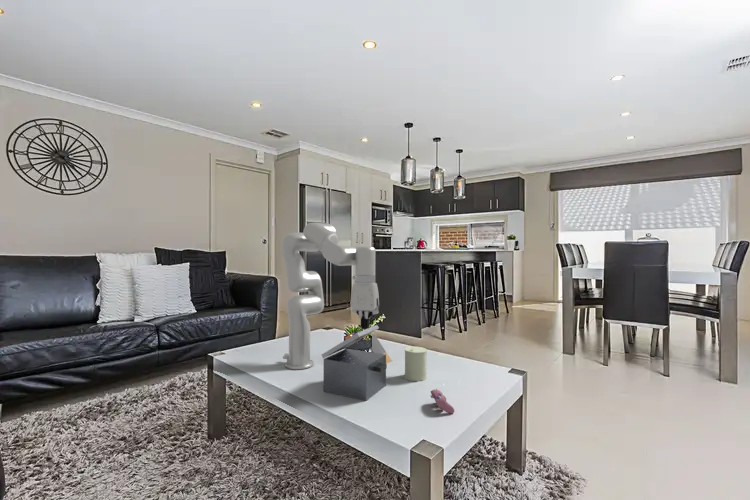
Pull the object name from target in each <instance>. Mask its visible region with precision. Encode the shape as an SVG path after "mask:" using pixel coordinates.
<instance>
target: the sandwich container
mask: <svg viewBox="0 0 750 500" xmlns="http://www.w3.org/2000/svg"><path fill="white" fill-rule="evenodd" d="M372 353H379V354H386V364H387V365H388V364H390V363H392V362H393V360H392V359H391V357H390V355H389V354H388V353H387V351H386V350H385V348H384V347H383V345H382V344H381V342H380V340H379V339H378V337H377V336H376V334H375V333H374V331H373V332H372Z"/></svg>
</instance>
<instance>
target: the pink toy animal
mask: <svg viewBox="0 0 750 500" xmlns="http://www.w3.org/2000/svg"><path fill="white" fill-rule="evenodd" d="M430 393H431V395H430V398H431V399H434V402H435V403H436V405H437V406H438V407H437V408H438V409H439V410H440V411H444V412H446V413H448V414H451V415H452V414H454V413H455V408H454V407H453V405H451V404H450V403H449V402H447V397H446V396H445V395H444V394H443V392H442V391H441V390H440V389H437V388H435V389H432V390H430Z"/></svg>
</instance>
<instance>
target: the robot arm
mask: <svg viewBox="0 0 750 500" xmlns="http://www.w3.org/2000/svg"><path fill="white" fill-rule="evenodd" d="M317 251H320V252H321V254H322V257H323V258H324V259H325V260H327V261H328V262H329V263H331V264H333V265H334V266H339V267H341V266H343V267H345V266H355V267H354V268H355V270H354V272H355V273H354V275H353V276H352V280H354V282H353V283H352V287H351V293H350V308H351V312H352V313H355V314H357V315H358V318H359V319H360V327H361V329H364V330H365V329H368V328H369V326H370V324H371V322H370V319H371V317H372V316H373V315H377V314H379V313H380V311H379V308H380V299H379V298H380V296H379V288H378V283H377V282H376V248H375V247H373V246H357V245H356V246H355V245H339V237H338V235H337V230H336V227H334V226H333V225H332V224H331V223H325V222H324V223H323V222H310V223H308V224H306V225H305V226H304V229H303V232H299V231H298V232H296V231H295V232H289V233H287V234H285V235H284V236H283V238H282V240H281V253H282V256H283V258H284V262H285V263H284V264H285V271H286V279H287V280H286V281H287V287H288V290H289V291H290V292H291V293H304V292H308V294H300V295H299V294H298V295H293V296H291V297H290V298H289V299H288V300H287V302H286V311H287V312H286V313H287V316H288V353H284V355H283V356H282V359H284V360H286V362H285V363H284V365H285V367H286V368H287V369H289V370H305V369H309V368H311V367H313V366H314V364H315V363H314V360H313V359H311V324H310V321H309V320H308V318H307V316H313V315H319V314H320V313H322V312H323V311H324V308H325V299H324V289H323V281H322V278H321V275H320V274H319V273H318V271H315V270H306V266H305V265H306V264H305V260H304V258H303V256H302V255H301V254H300V253H299V252H317ZM370 327H371V326H370Z"/></svg>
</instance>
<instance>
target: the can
mask: <svg viewBox="0 0 750 500" xmlns="http://www.w3.org/2000/svg"><path fill="white" fill-rule="evenodd" d="M427 352H428V350H427V348H425V347H423V346H406V347H405V348H404V377H403V378H404V379H405V380H408V381H411V382H422V381H425V380H427V378H428V376H427V373H428V372H427V363H428V362H427V356H428V355H427V354H428V353H427Z"/></svg>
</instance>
